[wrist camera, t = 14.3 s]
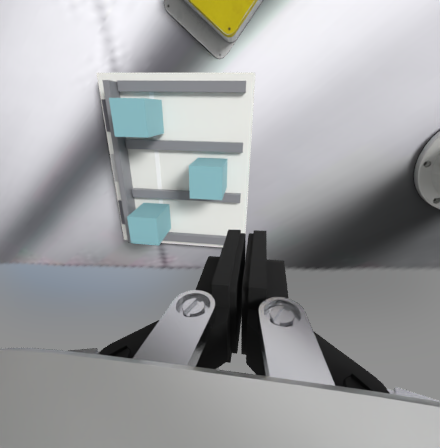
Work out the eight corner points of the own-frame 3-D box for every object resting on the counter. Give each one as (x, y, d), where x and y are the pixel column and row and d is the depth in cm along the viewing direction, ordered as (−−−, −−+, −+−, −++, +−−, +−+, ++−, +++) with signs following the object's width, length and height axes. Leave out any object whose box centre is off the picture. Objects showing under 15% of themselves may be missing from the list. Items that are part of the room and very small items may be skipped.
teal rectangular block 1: (161, 99, 32) (144, 98, 27) (164, 133, 34) (148, 137, 29) (131, 99, 32) (108, 97, 27) (135, 132, 34) (114, 136, 29)
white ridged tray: (255, 74, 32) (255, 69, 28) (244, 242, 42) (243, 257, 38) (104, 74, 34) (84, 70, 30) (129, 234, 44) (116, 247, 40)
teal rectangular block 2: (169, 204, 38) (156, 218, 33) (171, 228, 39) (159, 245, 34) (143, 202, 38) (127, 216, 33) (146, 226, 40) (131, 243, 35)
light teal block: (227, 158, 34) (222, 167, 29) (226, 187, 35) (222, 200, 31) (198, 157, 34) (188, 165, 29) (198, 186, 36) (189, 198, 31)
